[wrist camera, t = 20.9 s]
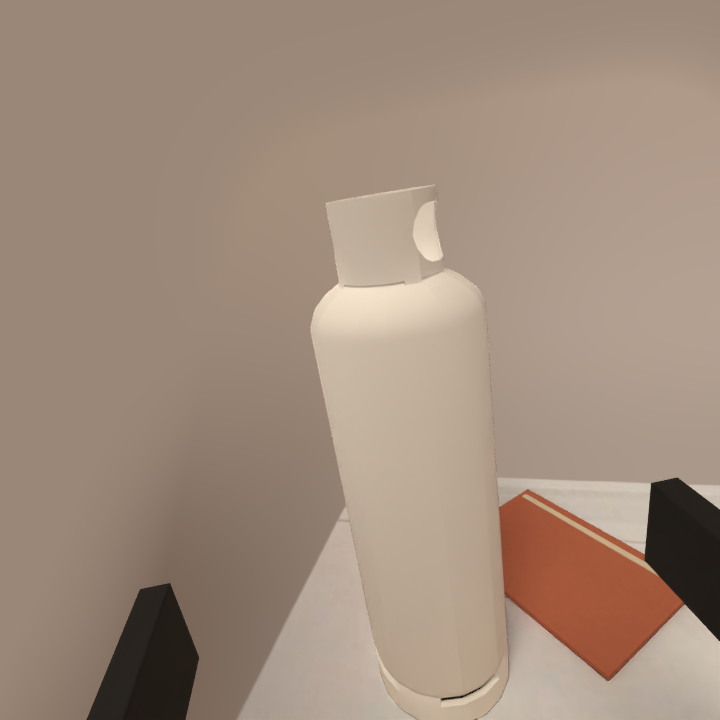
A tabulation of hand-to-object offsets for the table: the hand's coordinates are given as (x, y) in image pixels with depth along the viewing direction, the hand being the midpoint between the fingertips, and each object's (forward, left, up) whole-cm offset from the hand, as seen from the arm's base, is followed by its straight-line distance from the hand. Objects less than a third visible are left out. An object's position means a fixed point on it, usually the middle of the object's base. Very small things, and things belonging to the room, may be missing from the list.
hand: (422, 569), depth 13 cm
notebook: (-9, +18, -19) cm, 27 cm away
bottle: (-9, +6, -19) cm, 22 cm away
